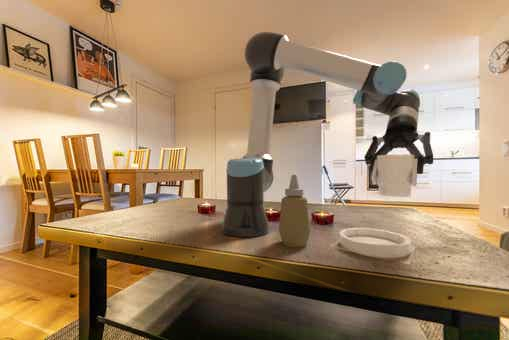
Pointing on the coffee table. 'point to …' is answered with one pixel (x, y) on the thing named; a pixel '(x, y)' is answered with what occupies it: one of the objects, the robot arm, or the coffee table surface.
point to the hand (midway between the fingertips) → (392, 181)
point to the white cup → (395, 174)
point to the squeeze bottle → (294, 216)
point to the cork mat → (401, 260)
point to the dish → (375, 243)
